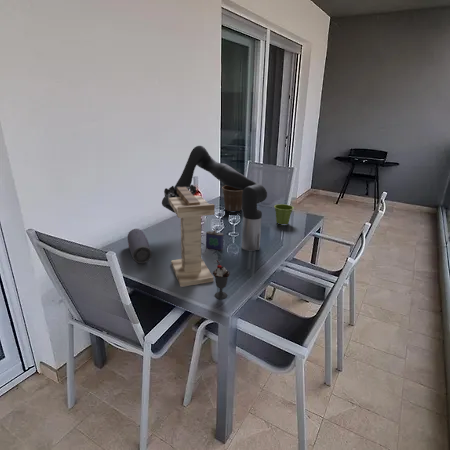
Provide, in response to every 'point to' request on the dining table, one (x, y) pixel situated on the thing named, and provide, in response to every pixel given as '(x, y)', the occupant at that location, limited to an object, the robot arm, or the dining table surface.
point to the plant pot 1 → (232, 198)
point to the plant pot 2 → (283, 213)
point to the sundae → (221, 280)
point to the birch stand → (191, 242)
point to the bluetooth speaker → (139, 246)
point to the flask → (214, 240)
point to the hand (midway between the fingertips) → (182, 187)
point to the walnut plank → (187, 196)
